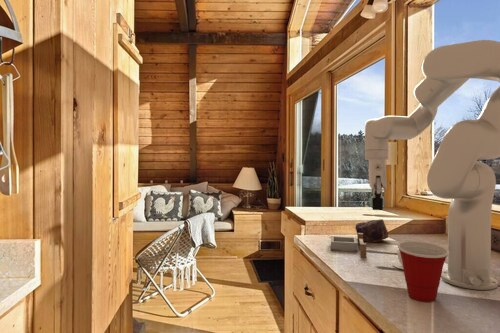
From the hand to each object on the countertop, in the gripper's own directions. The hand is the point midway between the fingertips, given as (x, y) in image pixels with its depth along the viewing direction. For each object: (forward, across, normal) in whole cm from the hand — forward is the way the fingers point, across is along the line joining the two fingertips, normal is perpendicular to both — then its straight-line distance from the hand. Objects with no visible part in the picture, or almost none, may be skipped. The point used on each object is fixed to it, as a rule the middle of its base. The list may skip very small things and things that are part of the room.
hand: (376, 208), depth 121 cm
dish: (+15, +4, +11) cm, 19 cm away
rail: (+15, +1, +5) cm, 16 cm away
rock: (+15, +16, 0) cm, 23 cm away
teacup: (+16, -14, -8) cm, 23 cm away
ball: (0, 0, 0) cm, 0 cm away
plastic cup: (+16, -39, -6) cm, 42 cm away
